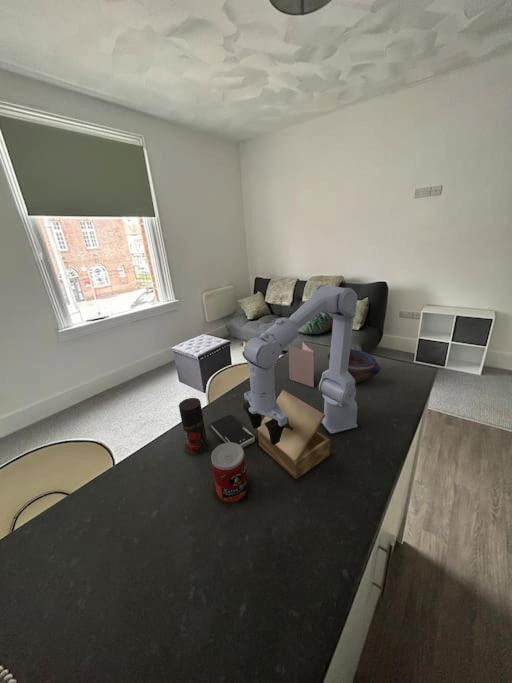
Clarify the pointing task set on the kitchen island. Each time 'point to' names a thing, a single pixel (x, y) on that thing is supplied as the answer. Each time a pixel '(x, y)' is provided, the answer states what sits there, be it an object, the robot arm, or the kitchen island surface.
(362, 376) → the bowl
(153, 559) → the kitchen island surface
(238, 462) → the canned food
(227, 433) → the smartphone
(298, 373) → the greeting card
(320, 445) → the compartment
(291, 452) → the lid
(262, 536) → the kitchen island surface
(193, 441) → the deodorant
